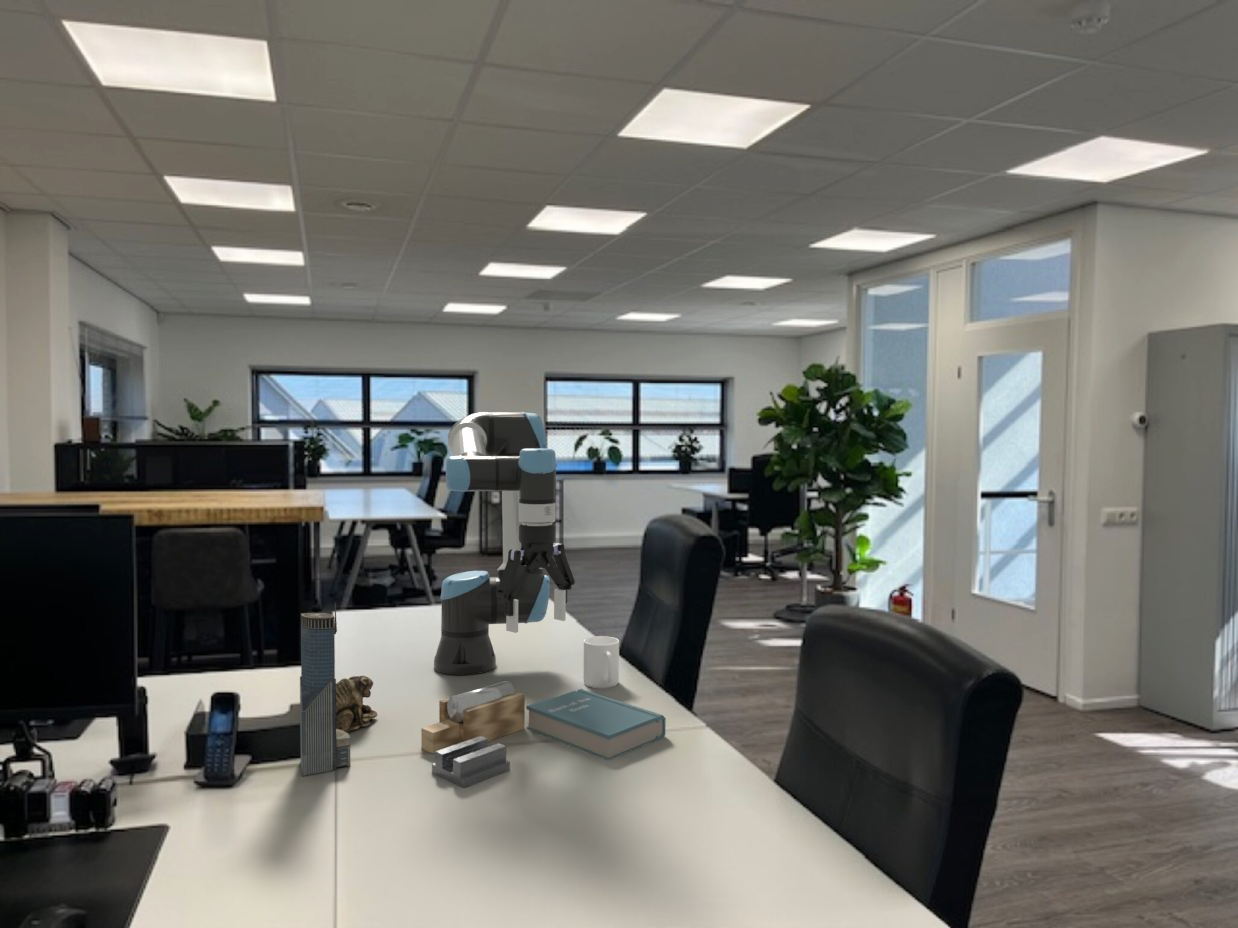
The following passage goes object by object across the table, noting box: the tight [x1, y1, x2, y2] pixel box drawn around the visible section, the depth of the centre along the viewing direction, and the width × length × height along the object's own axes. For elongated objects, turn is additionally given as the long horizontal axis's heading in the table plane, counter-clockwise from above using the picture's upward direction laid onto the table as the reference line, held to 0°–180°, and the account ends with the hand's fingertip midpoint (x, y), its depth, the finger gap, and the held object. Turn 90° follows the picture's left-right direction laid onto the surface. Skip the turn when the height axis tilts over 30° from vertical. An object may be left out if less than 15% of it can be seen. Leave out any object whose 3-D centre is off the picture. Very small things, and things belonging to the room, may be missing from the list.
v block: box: [431, 736, 511, 788], centre depth 147 cm, size 10×9×4 cm
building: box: [299, 603, 351, 777], centre depth 148 cm, size 10×9×30 cm
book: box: [526, 688, 667, 761], centre depth 167 cm, size 23×16×5 cm
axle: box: [447, 680, 516, 723], centre depth 165 cm, size 13×5×5 cm, turn 138°
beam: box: [420, 692, 526, 755], centre depth 164 cm, size 20×9×7 cm, turn 138°
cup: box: [582, 635, 620, 689], centre depth 196 cm, size 8×12×10 cm
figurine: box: [336, 675, 379, 732], centre depth 167 cm, size 6×14×10 cm, turn 137°
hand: (536, 625), depth 175 cm, fingers open, 13 cm apart
